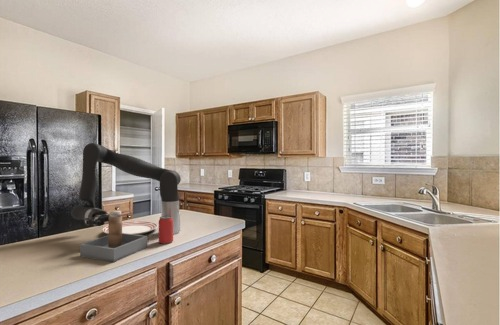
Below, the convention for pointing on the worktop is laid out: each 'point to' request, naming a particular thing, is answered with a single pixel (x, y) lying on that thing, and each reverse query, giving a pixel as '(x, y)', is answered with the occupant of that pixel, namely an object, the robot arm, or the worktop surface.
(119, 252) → the bin
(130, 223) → the dinner plate
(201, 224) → the worktop surface
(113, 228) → the pepper mill
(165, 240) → the beer can
